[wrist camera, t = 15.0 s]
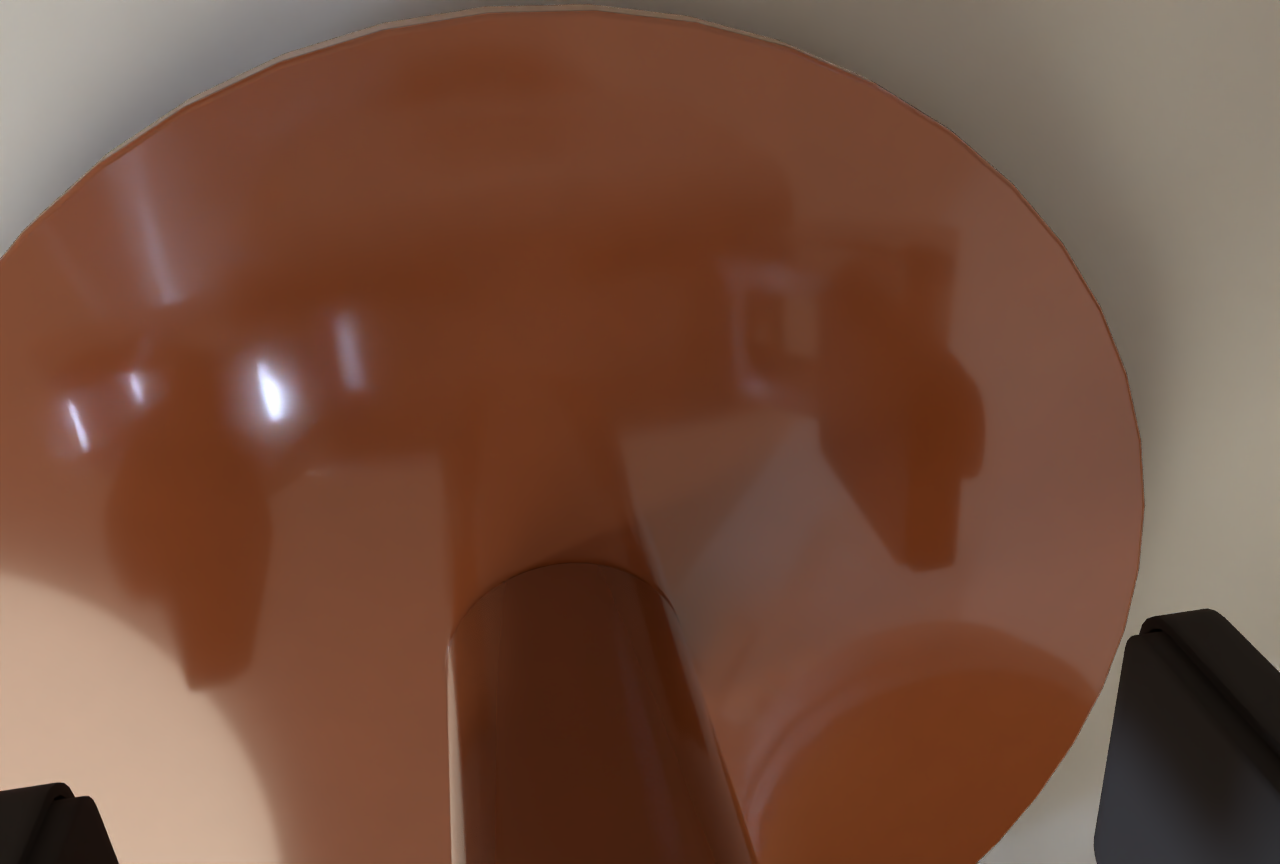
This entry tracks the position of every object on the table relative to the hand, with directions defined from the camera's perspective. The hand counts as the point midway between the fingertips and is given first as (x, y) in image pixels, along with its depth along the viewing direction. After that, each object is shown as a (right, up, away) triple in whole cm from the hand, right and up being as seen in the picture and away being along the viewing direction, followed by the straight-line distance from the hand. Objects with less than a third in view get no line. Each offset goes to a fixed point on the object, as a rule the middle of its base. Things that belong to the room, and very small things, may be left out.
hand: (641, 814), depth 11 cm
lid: (-1, +1, +3) cm, 3 cm away
